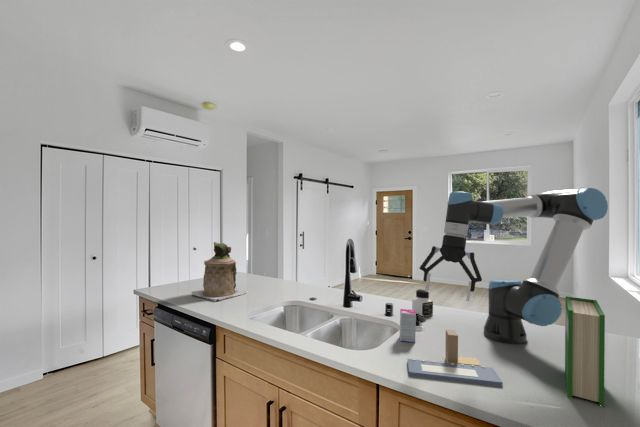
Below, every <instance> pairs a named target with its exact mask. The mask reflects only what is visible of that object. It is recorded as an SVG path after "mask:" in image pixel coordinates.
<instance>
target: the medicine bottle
mask: <svg viewBox="0 0 640 427" xmlns="http://www.w3.org/2000/svg"><path fill="white" fill-rule="evenodd" d="M411 303H412V304H411V306H412V307H411V310H415V312H420V315H421V316H423V317H422V318H425V317H424V316H426V317H430V315H431V316H433V315H434V301H433V300H431V299H430V291H429V290H428V291H427V292H426V291H425V288H424V289H417V290H416V291H415V298H412V301H411ZM421 316H420V317H421Z"/></svg>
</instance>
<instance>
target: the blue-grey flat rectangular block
mask: <svg viewBox="0 0 640 427" xmlns="http://www.w3.org/2000/svg"><path fill="white" fill-rule="evenodd" d="M407 369H408V376H409V377H415V378H422V379H423V378H425V379H433V380H441V381H442V380H443V381H449V382H450V381H452V382H460V383H469V384H475V385H476V384H477V385H483V386H494V387H501V388H502V387H503V381H502V380H501V378H500V376H499V375H498V373H497V372H496V371H495V369H494V368H493V366H484V365H481V366H474V365H464V364H454V363H447V362H444V361H434V360H426V359H425V360H424V359H416V358H415V359H414V358H407Z"/></svg>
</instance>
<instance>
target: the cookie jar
mask: <svg viewBox="0 0 640 427" xmlns="http://www.w3.org/2000/svg"><path fill="white" fill-rule="evenodd" d="M213 251H214V256H212V257H211V258H209V259H207V260H204V261H203V263H204V266H205V267H204V274H203V285H202V287H203V289H201V290H195V291H191V292H190V293H191V295H192V297H194V296H195V297H199V298H203V299H207V300H210V301H213V302H217V301H224V300H225V299H231V298H234V297H235V298H236V297H238V296H242V295H246V294H247V293H248V290H247V289H241V288H240V289H239V288H236V287H237V284H236V281H237V280H236V279H237V278H236V276H237V275H236V274H237V266H236V264H237V262H236V260H235V259H233V258H232V257H230V254H231V252H232V247H231V246H228V244H225V243H223V242H222V243H221V242H216V241H214V242H213Z"/></svg>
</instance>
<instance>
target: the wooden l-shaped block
mask: <svg viewBox="0 0 640 427" xmlns="http://www.w3.org/2000/svg"><path fill="white" fill-rule="evenodd" d="M445 359H446V363H454V364H464V365H474V366H482V365H481V362H480V361H479V360H478V358H474V357H467V356H466V357H465V356H459V335H458V333H457V331H456V329H445Z"/></svg>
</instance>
